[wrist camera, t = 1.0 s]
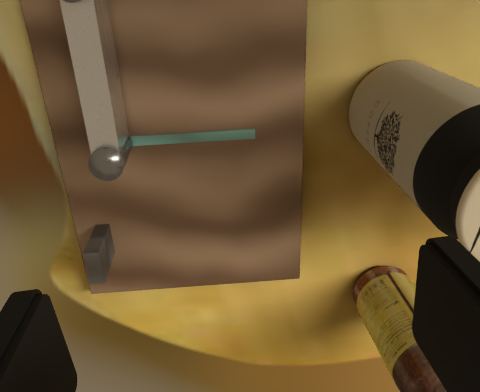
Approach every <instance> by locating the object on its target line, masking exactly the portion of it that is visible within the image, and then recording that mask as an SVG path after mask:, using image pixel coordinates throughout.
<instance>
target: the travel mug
mask: <svg viewBox="0 0 480 392" xmlns="http://www.w3.org/2000/svg"><path fill="white" fill-rule="evenodd" d="M349 123H350V127H351V130H352V132H353V134H354V136H355V138H356V139H357V140H358V141H359V142H360V144H361V145H362V146H363V147H364V148H365V149H366V150H367V151H368V152H369V153H370V155H371V156H372V157H373V158H374V159H375V160H376V161H377V162H378V163H379V164H380V165H381V167H382V168H383V169H384V170H385V171H386V172H387V173H388V174H389V175H390V176H391V178H392V179H393V180H394V181H395V182H396V183H397V184H398V185H399V186H400V187H401V189H402V190H403V191H404V192H405V193H406V194H407V195H408V196H409V197H410V198H411V199H412V201H413V202H414V203H415V204H416V205H417V206H418V207H419V208H420V209H421V210H422V212H423V213H424V214H425V215H426V216H427V217H428V218H429V219H430V220H431V221H432V223H433V224H434V225H435V226H436V227H437V228H438V229H439V230H441V231H442V232H443V233H445V234H446V235H448V236H453V237H454V238H456V239H459V241H460V243H461V244H462V245H463V246H464V247H465V248H466V249H467V250H468V251H469V252H470V253H471V254H472V255H473V256H474V257H475V258H476V259H477V260H478V261H479V262H480V88H479V87H476V86H474V85H472V84H469V83H467V82H464V81H462V80H460V79H457V78H455V77H452V76H450V75H448V74H445V73H443V72H440V71H438V70H436V69H433V68H431V67H428V66H426V65H424V64H421V63H419V62H416V61H411V60H398V61H392V62H389V63H386V64H384V65H381V66H380V67H378V68H376V69H375V70H373V71H372V72H371V73H369V74H368V75H367V76H366V77H365V78H364V79H363V80H362V81H361V83H360V84H359V85H358V87H357V89H356V90H355V92H354V94H353V97H352V99H351V103H350V107H349Z"/></svg>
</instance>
